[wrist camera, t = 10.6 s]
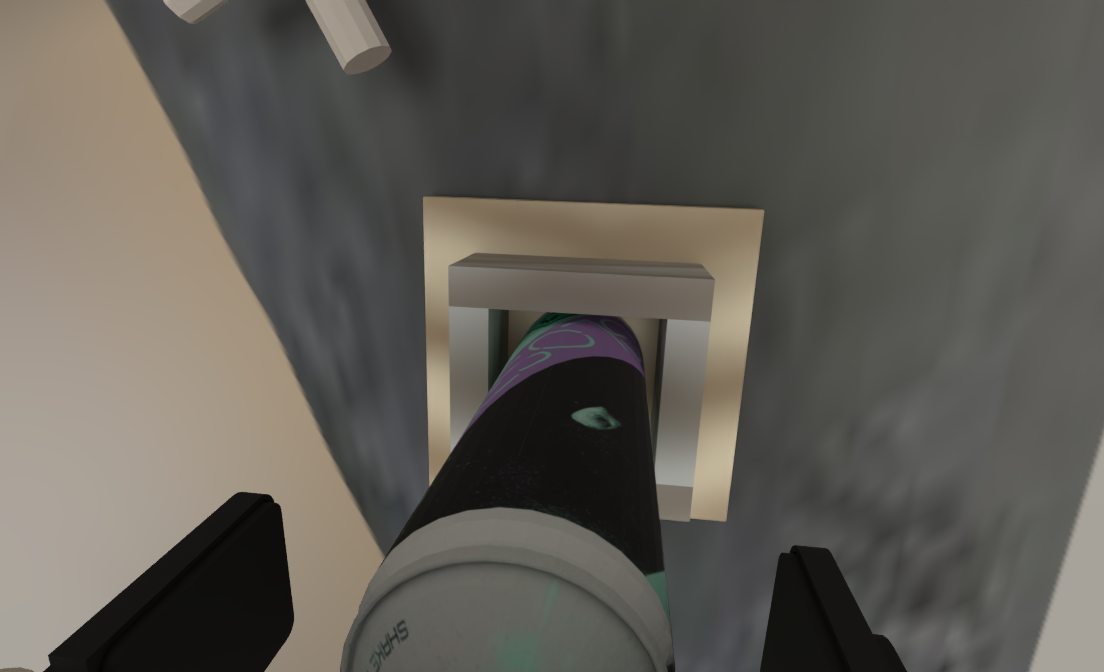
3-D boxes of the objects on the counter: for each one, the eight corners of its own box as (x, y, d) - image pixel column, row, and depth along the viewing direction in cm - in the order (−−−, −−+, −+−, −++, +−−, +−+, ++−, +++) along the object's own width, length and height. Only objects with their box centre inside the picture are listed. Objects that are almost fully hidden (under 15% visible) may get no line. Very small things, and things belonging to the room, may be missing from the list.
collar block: (431, 195, 26) (386, 200, 21) (757, 208, 25) (791, 216, 20) (437, 481, 30) (399, 542, 25) (721, 507, 28) (742, 577, 23)
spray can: (628, 289, 25) (643, 662, 6) (654, 408, 26) (737, 1037, 7) (505, 316, 26) (170, 713, 7) (536, 430, 27) (325, 1038, 8)
